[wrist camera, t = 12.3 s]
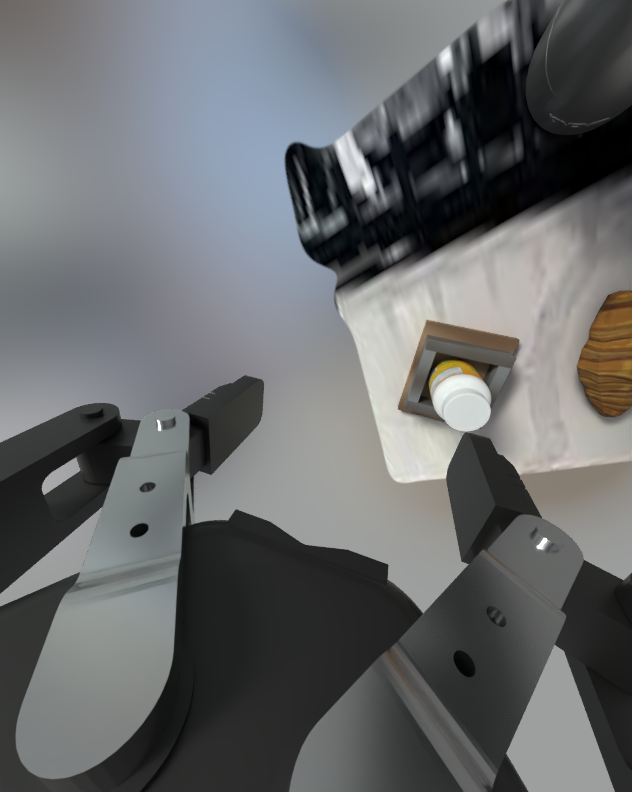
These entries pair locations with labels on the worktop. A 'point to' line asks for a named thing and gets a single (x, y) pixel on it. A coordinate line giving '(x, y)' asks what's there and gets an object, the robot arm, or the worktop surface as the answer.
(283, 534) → the robot arm
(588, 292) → the worktop surface
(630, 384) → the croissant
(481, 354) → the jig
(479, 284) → the worktop surface
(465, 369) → the supplement bottle
